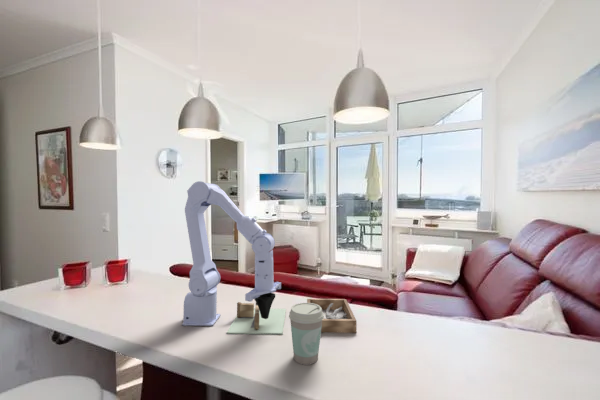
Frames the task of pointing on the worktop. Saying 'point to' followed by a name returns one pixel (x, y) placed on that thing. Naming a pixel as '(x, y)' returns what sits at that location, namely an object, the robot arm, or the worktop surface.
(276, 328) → the mat
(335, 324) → the box
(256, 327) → the rail
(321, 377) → the worktop surface
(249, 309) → the fixed rail
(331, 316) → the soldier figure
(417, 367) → the worktop surface
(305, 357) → the coffee cup
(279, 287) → the robot arm
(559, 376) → the worktop surface
